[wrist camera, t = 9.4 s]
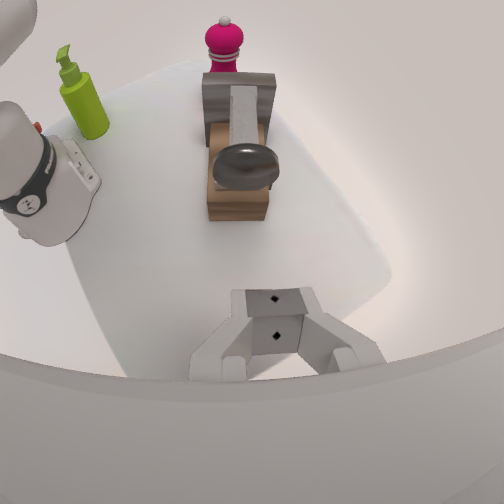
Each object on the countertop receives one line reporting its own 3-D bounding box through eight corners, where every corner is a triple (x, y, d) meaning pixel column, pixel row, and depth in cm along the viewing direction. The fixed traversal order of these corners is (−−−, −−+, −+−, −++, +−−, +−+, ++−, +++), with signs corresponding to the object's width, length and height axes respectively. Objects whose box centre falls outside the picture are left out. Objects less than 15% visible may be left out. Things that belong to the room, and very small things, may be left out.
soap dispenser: (108, 111, 47) (79, 36, 28) (110, 132, 46) (76, 52, 27) (83, 122, 46) (48, 51, 27) (84, 144, 45) (43, 69, 26)
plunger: (274, 247, 37) (316, 157, 19) (215, 248, 37) (203, 154, 18) (269, 177, 41) (296, 68, 22) (216, 176, 40) (211, 65, 21)
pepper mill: (234, 90, 51) (239, 7, 32) (247, 112, 49) (257, 22, 30) (200, 98, 49) (195, 13, 30) (210, 120, 48) (207, 28, 29)
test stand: (270, 220, 42) (288, 166, 29) (202, 221, 41) (192, 166, 28) (263, 134, 47) (274, 73, 34) (207, 134, 47) (203, 72, 33)
